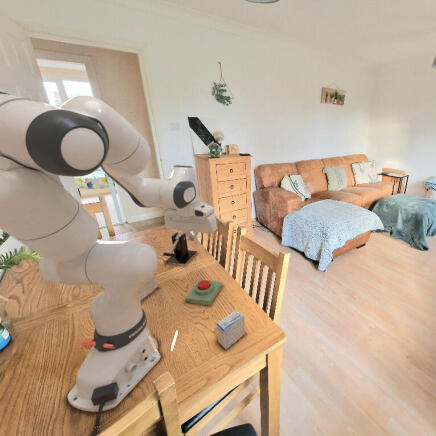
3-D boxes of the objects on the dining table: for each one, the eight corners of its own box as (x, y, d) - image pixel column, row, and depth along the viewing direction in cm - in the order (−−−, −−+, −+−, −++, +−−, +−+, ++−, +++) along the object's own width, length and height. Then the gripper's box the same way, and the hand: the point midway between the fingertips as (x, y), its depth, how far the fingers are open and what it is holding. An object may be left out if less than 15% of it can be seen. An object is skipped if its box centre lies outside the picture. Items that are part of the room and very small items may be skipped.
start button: (206, 291, 96) (206, 287, 95) (196, 289, 96) (196, 286, 96) (211, 284, 100) (211, 280, 99) (201, 282, 100) (201, 279, 100)
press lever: (175, 258, 112) (173, 255, 110) (164, 256, 113) (162, 254, 111) (186, 237, 120) (184, 234, 118) (176, 236, 121) (174, 233, 119)
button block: (209, 305, 93) (209, 297, 92) (186, 302, 95) (184, 294, 93) (222, 286, 104) (221, 278, 103) (200, 283, 106) (199, 276, 104)
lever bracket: (184, 266, 117) (181, 241, 112) (166, 263, 118) (161, 239, 113) (197, 253, 128) (194, 230, 123) (179, 251, 129) (176, 228, 124)
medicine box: (237, 327, 84) (235, 309, 81) (245, 335, 82) (244, 315, 78) (217, 342, 78) (215, 322, 75) (226, 350, 76) (224, 330, 73)
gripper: (157, 208, 88) (164, 241, 94) (209, 213, 86) (213, 246, 91) (168, 202, 94) (173, 233, 99) (217, 207, 92) (220, 239, 97)
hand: (193, 240), depth 95 cm, fingers closed
